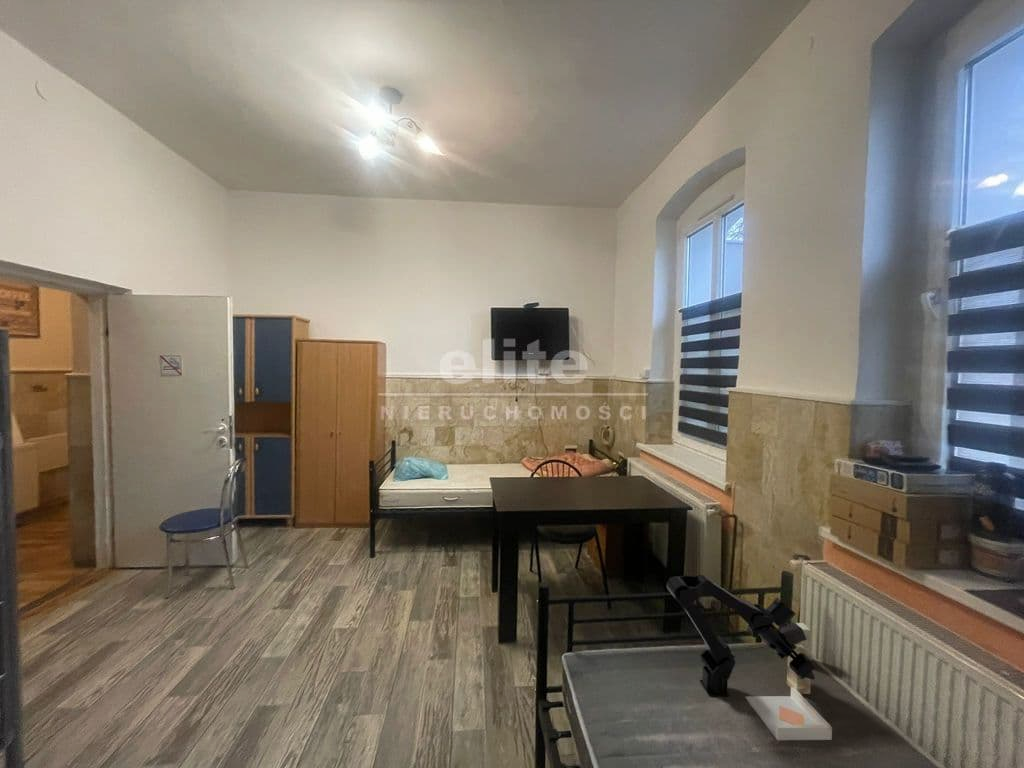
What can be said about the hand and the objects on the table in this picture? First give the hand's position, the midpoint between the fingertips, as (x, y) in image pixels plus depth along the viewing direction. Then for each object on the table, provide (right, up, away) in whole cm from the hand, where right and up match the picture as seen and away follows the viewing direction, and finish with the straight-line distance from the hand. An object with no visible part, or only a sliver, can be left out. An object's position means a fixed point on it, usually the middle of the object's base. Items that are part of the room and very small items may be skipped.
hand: (803, 668), depth 136 cm
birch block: (-1, -7, 0) cm, 7 cm away
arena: (-13, -7, -12) cm, 19 cm away
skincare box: (+8, -7, +14) cm, 18 cm away
